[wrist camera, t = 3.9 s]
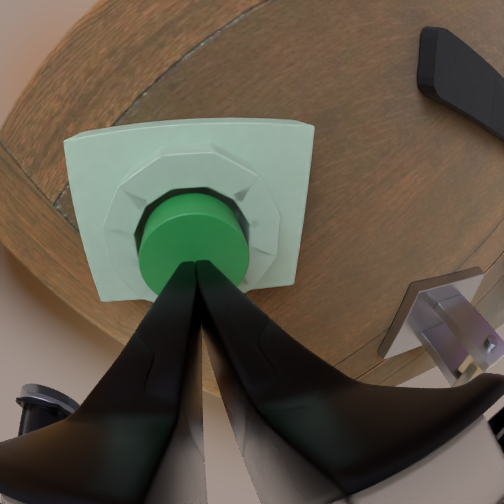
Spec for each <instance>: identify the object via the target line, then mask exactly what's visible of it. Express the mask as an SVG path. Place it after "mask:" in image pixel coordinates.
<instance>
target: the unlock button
mask: <svg viewBox="0 0 504 504" xmlns="http://www.w3.org/2000/svg"><path fill="white" fill-rule="evenodd" d="M197 260H209V261H211V262H212V263H213V264H214V265H215V266H216V267H217V268H218V269H219V270H220V271H221V272H222V273H223V274H224V275H225V276H226V277H227V278H228V279H229V280H230V281H231V282H232V283H233V284H234V285H235V286H236V287H238V286H239V284H240V283H241V282H242V280H243V279H244V277H245V275H246V272H247V269H248V266H249V249H248V245H247V242H246V240H245V237H244V235H243V232H242V230H241V227H240V225H239V222H238V220H237V218H236V216H235V214H234V213H233V211H232V210H231V209H230V208H229V207H228V206H227V205H226V204H225V203H223V202H222V201H221V200H219V199H217V198H215V197H213V196H210V195H206V194H202V193H185V194H180V195H176V196H174V197H171V198H169V199H167V200H165V201H164V202H162V203H161V204H160V205H158V206H157V207H156V208H155V209H154V211H153V212H152V213H151V215H150V216H149V218H148V220H147V222H146V225H145V229H144V233H143V237H142V241H141V246H140V251H139V259H138V263H139V269H140V272H141V275H142V277H143V279H144V281H145V283H146V284H147V286H148V287H149V288H150V289H151V290H152V291H153V292H154V293H155V294H156V295H159V294H160V292H161V291H162V289H163V288H164V286H165V285H166V283H167V282H168V280H169V279H170V277H171V276H172V274H173V273H174V272H175V270H176V269H177V267H178V266H179V264H180V263H181V262H185V261H194V262H196V261H197ZM195 268H196V267H195Z"/></svg>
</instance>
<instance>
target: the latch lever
mask: <svg viewBox="0 0 504 504" xmlns="http://www.w3.org/2000/svg"><path fill="white" fill-rule="evenodd" d="M458 370H459V371H460V372H461V373H462V374H461V376H460V377H459V378H458V379H457V381H456V382H455V383H454V384H453V386H452V387H457V386H460V385H464V384H466V383H468V382H469V381H471V380H472V379H474V378H475V377H476V376H478V375H479V374H481V373H483V371H482V370H481V369H480V367H479V366H478V365H477V363H476V362H475V361H474V359H473V358H472V357H471V355H470V354H469V355H468V356H467V357H466V358H465V360H464V361H463V362H462V364H461V365H460V366H459V367H458Z"/></svg>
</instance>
